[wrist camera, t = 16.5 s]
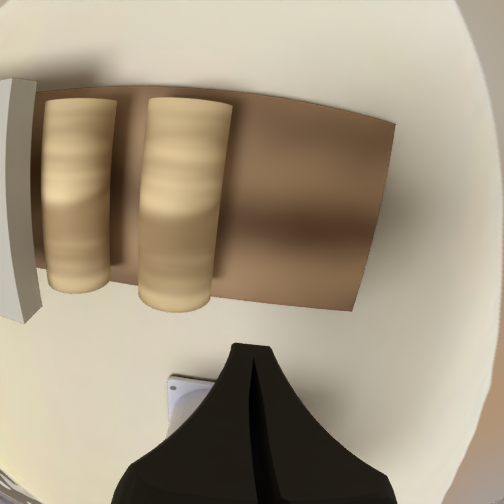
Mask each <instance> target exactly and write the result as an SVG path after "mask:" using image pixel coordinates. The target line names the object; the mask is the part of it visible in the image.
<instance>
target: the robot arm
mask: <svg viewBox="0 0 504 504" xmlns="http://www.w3.org/2000/svg"><path fill="white" fill-rule="evenodd" d="M173 386H175V387H173ZM167 390H168V411H169V428H168V432H167V436H166V439H165V440H164V441H163V442H162V443H161V444H159V445H158V446H157V447H156V448H154V449H153V450H152V451H150V452H149V453H147V454H146V455H144V456H143V457H141V458H140V459H138V460H137V461H135V462H134V463H132V464H131V465H130V466H129V467H128V469H127V470H126V472H125V473H124V475H123V476H122V478H121V480H120V481H119V483H118V485H117V487H116V489H115V492H114V495H113V498H112V502H111V504H397V500H396V497H395V494H394V491H393V488H392V486H391V484H390V482H389V479H388V477H387V476H386V475H385V474H383V473H381V472H380V471H378V470H376V469H374V468H373V467H371V466H370V465H368V464H366V463H365V462H363V461H362V460H360V459H359V458H357V457H356V456H355V455H353V454H352V453H351V452H349V451H348V450H347V449H346V448H344V447H343V446H342V445H341V444H340V443H339V442H338V441H336V440H335V439H334V438H333V437H332V436H331V435H330V434H329V433H328V432H327V431H326V430H325V429H324V428H323V427H322V426H321V425H320V424H319V423H318V422H317V421H316V419H315V418H314V417H313V416H312V415H311V414H310V412H309V411H308V410H307V409H306V407H305V406H304V405H303V403H302V402H301V400H300V399H299V398H298V396H297V395H296V393H295V392H294V390H293V389H292V387H291V385H290V384H289V382H288V380H287V379H286V377H285V375H284V373H283V372H282V370H281V368H280V366H279V364H278V362H277V360H276V358H275V356H274V353H273V351H272V349H271V348H270V346H261V345H252V344H242V343H234V344H232V345H231V351H230V354H229V357H228V359H227V362H226V364H225V366H224V368H223V370H222V372H221V373H220V375H219V377H218V379H217V381H216V382H208V381H201V380H194V379H187V378H181V377H175V376H171V377H169V378H168V381H167ZM0 504H23V503H21V502H19V501H17V500H15V499H13V498H11V497H10V496H8V495H6V494H4V493H2V492H1V491H0ZM492 504H504V497H503V498H501V499H499V500H497V501H495V502H494V503H492Z"/></svg>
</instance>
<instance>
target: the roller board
mask: <svg viewBox="0 0 504 504" xmlns="http://www.w3.org/2000/svg"><path fill="white" fill-rule="evenodd" d="M395 125H396V124H394V123H390V122H387V121H383V120H380V119H376V118H372V117H369V116H365V115H361V114H357V113H353V112H349V111H345V110H340V109H336V108H331V107H327V106H322V105H317V104H312V103H307V102H302V101H296V100H291V99H285V98H278V97H272V96H265V95H258V94H251V93H243V92H234V91H224V90H213V89H201V88H185V87H161V86H113V87H90V88H75V89H63V90H53V91H44V92H36V94H35V102H34V111H33V122H32V136H31V157H30V197H31V219H32V233H33V244H34V254H35V262H36V267H37V268H42V269H46V270H47V278H48V283H49V285H50V286H51V287H52V288H53V289H55V290H56V291H59V292H63V293H69V294H81V293H88V292H92V291H95V290H98V289H100V288H102V287H103V286H105V285H106V284H107V283H108V282H109V281H113V282H119V283H125V284H131V285H137V286H138V291H139V297H140V299H141V300H142V302H143V303H145V304H146V305H148V306H149V307H151V308H154V309H156V310H160V311H164V312H172V313H182V312H190V311H194V310H197V309H200V308H202V307H203V306H205V305H206V304H207V303H208V302H209V300H210V296H212V297H220V298H228V299H236V300H244V301H252V302H261V303H270V304H279V305H288V306H298V307H308V308H318V309H329V310H340V311H352V310H353V306H354V303H355V300H356V297H357V293H358V290H359V287H360V283H361V280H362V276H363V273H364V269H365V266H366V262H367V258H368V255H369V251H370V247H371V243H372V239H373V235H374V231H375V227H376V223H377V218H378V214H379V210H380V205H381V201H382V196H383V191H384V187H385V182H386V177H387V172H388V166H389V161H390V155H391V150H392V144H393V138H394V131H395Z"/></svg>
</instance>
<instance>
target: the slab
mask: <svg viewBox="0 0 504 504" xmlns="http://www.w3.org/2000/svg"><path fill="white" fill-rule="evenodd" d="M36 87H37V81H32V80H25V79H17V78H9V79H5V80H0V316H1V317H4V318H7V319H10V320H13V321H16V322H20V323H23V324H25V323H26V322H27V321H28V320H29V319H30V318H31V317H32V316H33V315H34V314H35V313H36V312H37V311H38V310H39V309H40V308H41V307H42V301H41V295H40V290H39V283H38V277H37V270H36V262H35V254H34V244H33V233H32V219H31V197H30V157H31V136H32V122H33V111H34V102H35V94H36Z"/></svg>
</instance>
